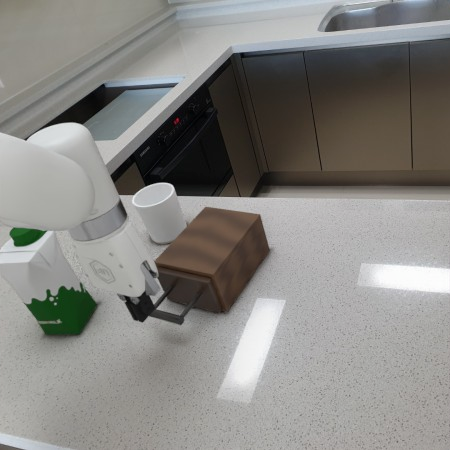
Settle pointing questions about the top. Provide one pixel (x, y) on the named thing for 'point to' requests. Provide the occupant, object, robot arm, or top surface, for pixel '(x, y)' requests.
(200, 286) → the drawer
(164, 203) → the mug
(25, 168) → the robot arm
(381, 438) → the top surface
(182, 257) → the cabinet
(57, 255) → the milk carton
